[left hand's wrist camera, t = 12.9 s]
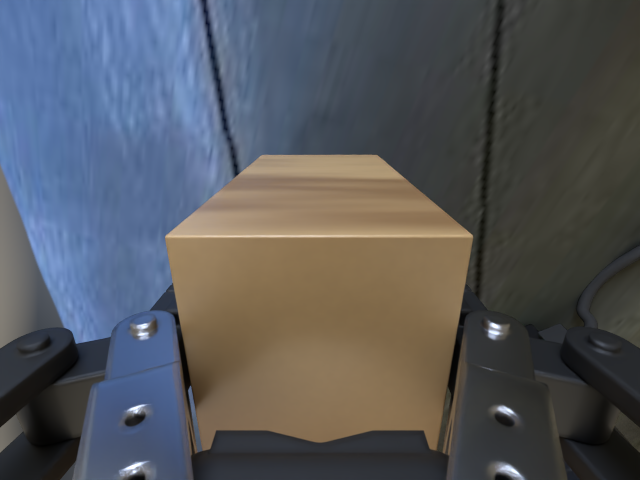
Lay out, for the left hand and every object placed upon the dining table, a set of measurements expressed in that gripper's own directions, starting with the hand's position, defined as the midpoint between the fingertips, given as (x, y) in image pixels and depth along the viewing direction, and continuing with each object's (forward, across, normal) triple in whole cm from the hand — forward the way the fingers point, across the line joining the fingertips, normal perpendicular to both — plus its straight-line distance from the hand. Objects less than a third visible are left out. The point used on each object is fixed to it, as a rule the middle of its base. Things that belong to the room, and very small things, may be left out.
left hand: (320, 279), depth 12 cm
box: (+7, 0, -9) cm, 12 cm away
